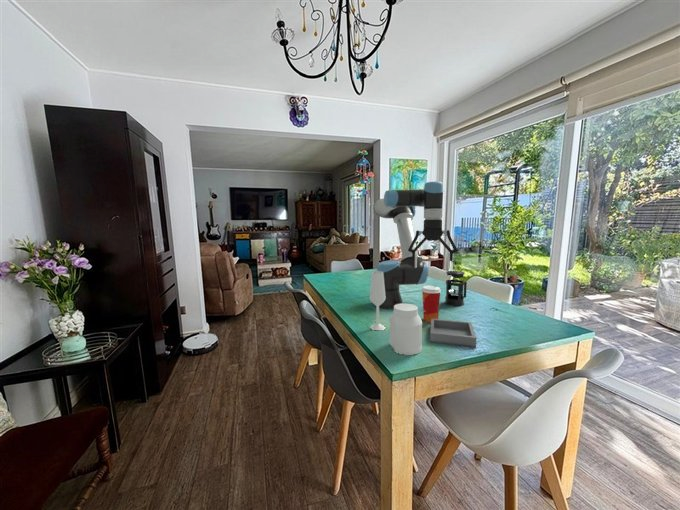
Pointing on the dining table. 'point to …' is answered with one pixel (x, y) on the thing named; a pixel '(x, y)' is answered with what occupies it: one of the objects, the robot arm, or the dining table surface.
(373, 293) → the champagne flute
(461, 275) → the french press
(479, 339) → the dining table surface
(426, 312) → the coffee cup
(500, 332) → the dining table surface
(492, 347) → the dining table surface
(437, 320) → the bin
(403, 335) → the jar
